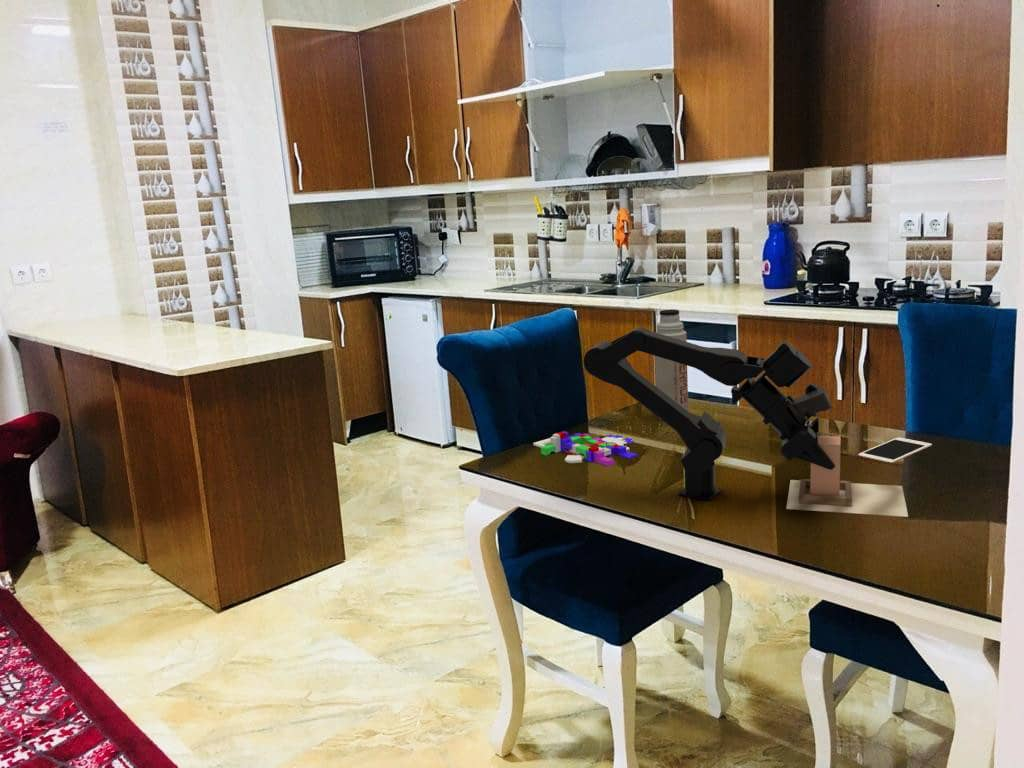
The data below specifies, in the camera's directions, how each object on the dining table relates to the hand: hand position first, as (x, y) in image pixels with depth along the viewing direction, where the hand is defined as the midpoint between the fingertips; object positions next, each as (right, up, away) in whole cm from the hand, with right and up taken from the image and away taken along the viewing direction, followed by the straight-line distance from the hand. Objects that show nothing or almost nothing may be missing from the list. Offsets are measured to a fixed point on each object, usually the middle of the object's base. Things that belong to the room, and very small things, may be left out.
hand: (833, 463), depth 154 cm
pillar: (-1, -5, +2) cm, 6 cm away
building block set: (-41, -1, +43) cm, 59 cm away
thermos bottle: (-17, +6, +63) cm, 66 cm away
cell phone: (+24, 0, +27) cm, 35 cm away
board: (+3, -7, +1) cm, 8 cm away
